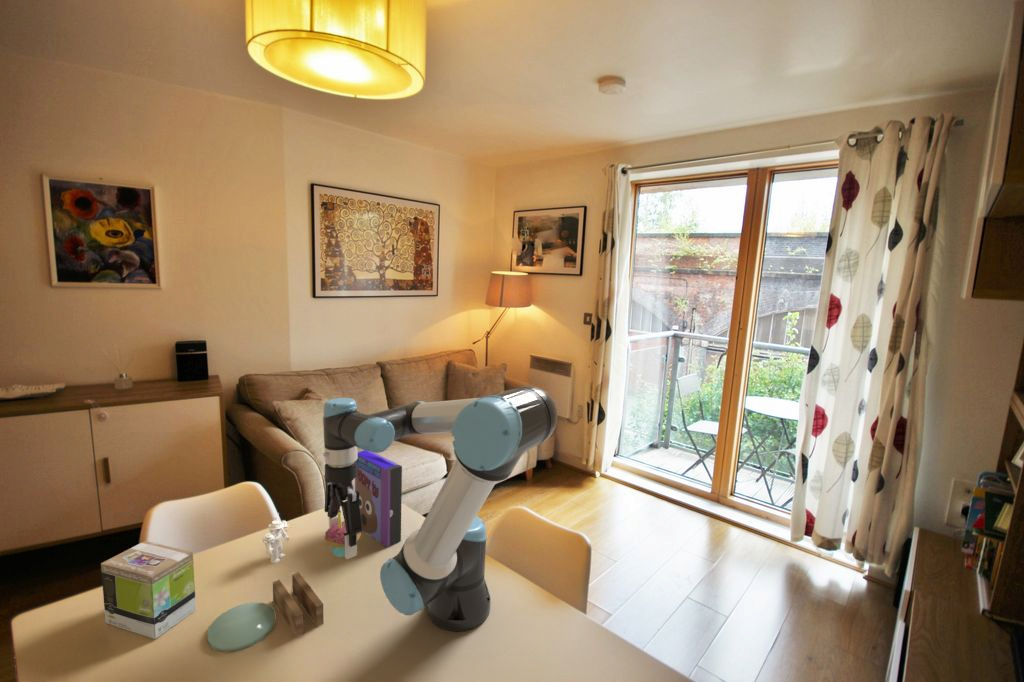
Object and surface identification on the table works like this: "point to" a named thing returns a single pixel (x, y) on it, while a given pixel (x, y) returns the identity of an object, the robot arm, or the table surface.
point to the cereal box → (379, 497)
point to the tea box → (148, 588)
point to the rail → (288, 608)
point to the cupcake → (337, 537)
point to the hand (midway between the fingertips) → (343, 548)
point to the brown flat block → (307, 599)
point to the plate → (241, 626)
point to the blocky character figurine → (276, 539)
